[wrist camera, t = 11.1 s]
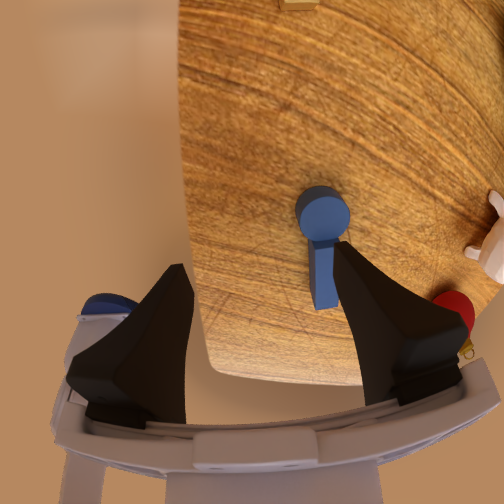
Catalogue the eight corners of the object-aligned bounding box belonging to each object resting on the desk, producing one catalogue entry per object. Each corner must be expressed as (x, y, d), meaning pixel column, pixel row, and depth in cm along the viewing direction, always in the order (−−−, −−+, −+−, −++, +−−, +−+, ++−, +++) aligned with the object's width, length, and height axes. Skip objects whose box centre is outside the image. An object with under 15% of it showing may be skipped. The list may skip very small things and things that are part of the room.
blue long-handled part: (339, 283, 26) (347, 305, 24) (300, 289, 27) (305, 312, 24) (342, 183, 20) (355, 199, 18) (293, 188, 20) (299, 206, 18)
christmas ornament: (463, 272, 26) (501, 330, 18) (453, 307, 30) (482, 361, 22) (420, 289, 28) (456, 356, 20) (414, 323, 32) (439, 383, 24)
